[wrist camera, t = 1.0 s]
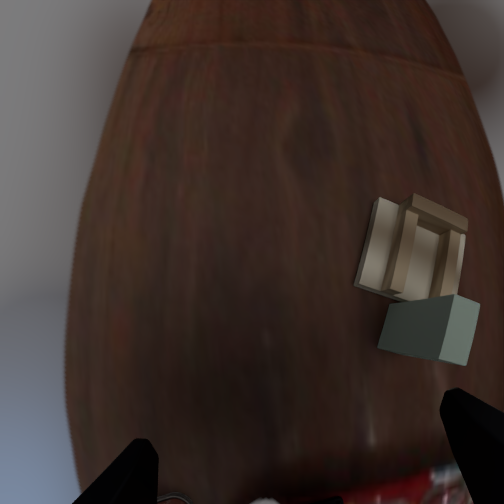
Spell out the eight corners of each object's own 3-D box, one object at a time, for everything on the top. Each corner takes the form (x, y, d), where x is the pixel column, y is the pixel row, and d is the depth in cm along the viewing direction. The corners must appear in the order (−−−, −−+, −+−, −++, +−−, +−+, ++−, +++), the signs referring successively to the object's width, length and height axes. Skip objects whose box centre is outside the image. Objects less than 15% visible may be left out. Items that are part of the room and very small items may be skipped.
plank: (399, 354, 25) (465, 366, 15) (376, 347, 25) (438, 358, 16) (411, 311, 26) (480, 304, 16) (389, 303, 26) (454, 294, 16)
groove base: (443, 316, 26) (471, 314, 21) (353, 285, 26) (372, 279, 22) (457, 239, 27) (483, 227, 23) (373, 203, 28) (392, 184, 24)
